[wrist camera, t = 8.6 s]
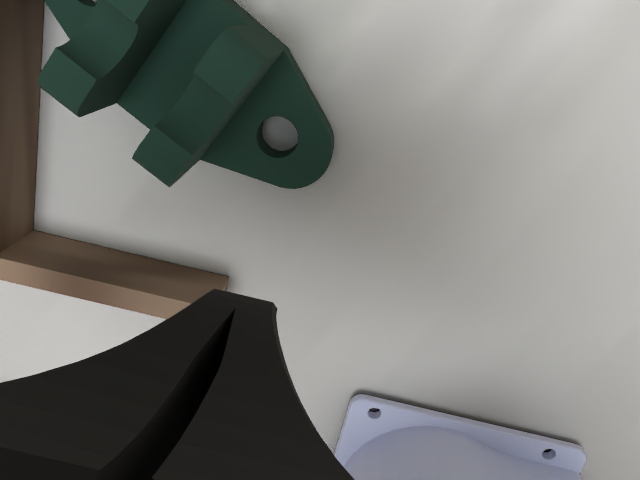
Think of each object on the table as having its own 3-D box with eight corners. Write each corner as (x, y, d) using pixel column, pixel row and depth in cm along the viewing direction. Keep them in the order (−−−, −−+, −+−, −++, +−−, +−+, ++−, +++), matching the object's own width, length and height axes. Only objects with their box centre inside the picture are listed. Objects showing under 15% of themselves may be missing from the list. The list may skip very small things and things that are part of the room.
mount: (367, 115, 20) (368, 149, 15) (284, 211, 21) (262, 269, 17) (92, -123, 18) (-4, -169, 13) (21, 0, 19) (-88, -1, 15)
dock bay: (324, -234, 16) (317, -274, 14) (225, 295, 22) (208, 328, 20) (29, -308, 16) (-28, -361, 14) (11, 244, 22) (-31, 272, 20)
